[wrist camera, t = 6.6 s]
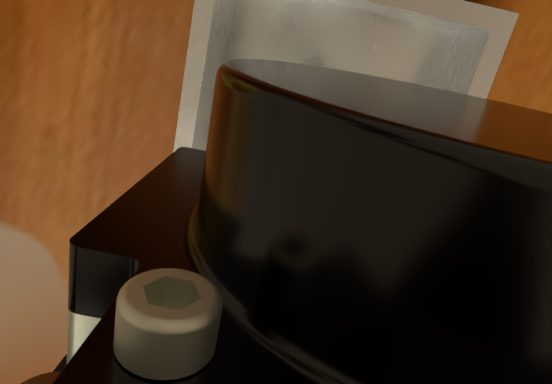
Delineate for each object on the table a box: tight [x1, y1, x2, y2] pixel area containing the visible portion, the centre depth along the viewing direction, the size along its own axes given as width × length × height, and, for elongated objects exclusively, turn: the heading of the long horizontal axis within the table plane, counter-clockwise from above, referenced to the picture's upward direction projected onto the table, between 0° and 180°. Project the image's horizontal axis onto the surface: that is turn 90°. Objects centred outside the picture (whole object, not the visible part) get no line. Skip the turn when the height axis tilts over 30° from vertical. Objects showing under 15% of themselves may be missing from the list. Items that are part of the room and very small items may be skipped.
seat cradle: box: [173, 0, 519, 152], centre depth 20 cm, size 17×11×5 cm, turn 168°
